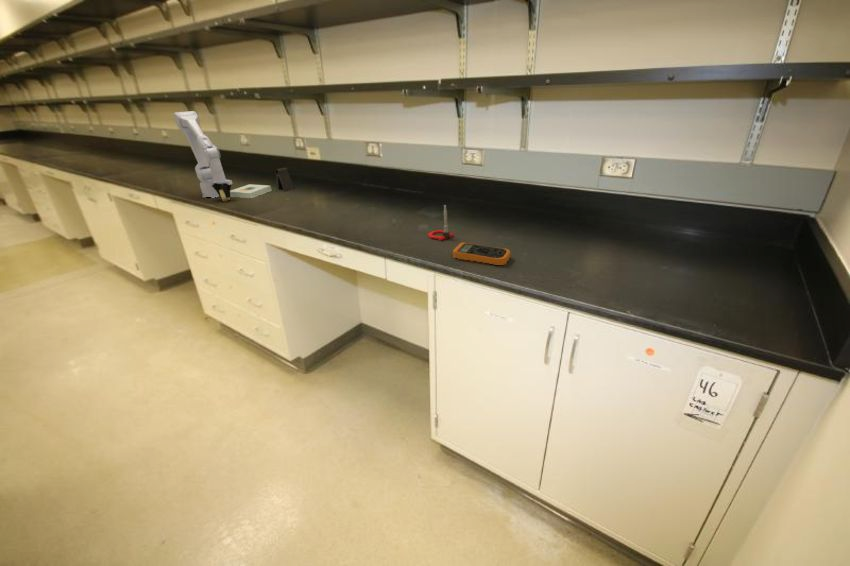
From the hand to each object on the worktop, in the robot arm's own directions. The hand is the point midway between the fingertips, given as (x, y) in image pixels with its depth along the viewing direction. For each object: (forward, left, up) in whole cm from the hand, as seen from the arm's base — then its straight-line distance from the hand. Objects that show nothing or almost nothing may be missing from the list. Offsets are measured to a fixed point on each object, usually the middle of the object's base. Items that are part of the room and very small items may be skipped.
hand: (225, 197), depth 199 cm
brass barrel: (0, 0, -2) cm, 2 cm away
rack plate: (+4, +14, -2) cm, 15 cm away
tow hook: (+130, -18, -2) cm, 131 cm away
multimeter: (+150, -33, -2) cm, 154 cm away
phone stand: (+18, +27, -2) cm, 33 cm away
